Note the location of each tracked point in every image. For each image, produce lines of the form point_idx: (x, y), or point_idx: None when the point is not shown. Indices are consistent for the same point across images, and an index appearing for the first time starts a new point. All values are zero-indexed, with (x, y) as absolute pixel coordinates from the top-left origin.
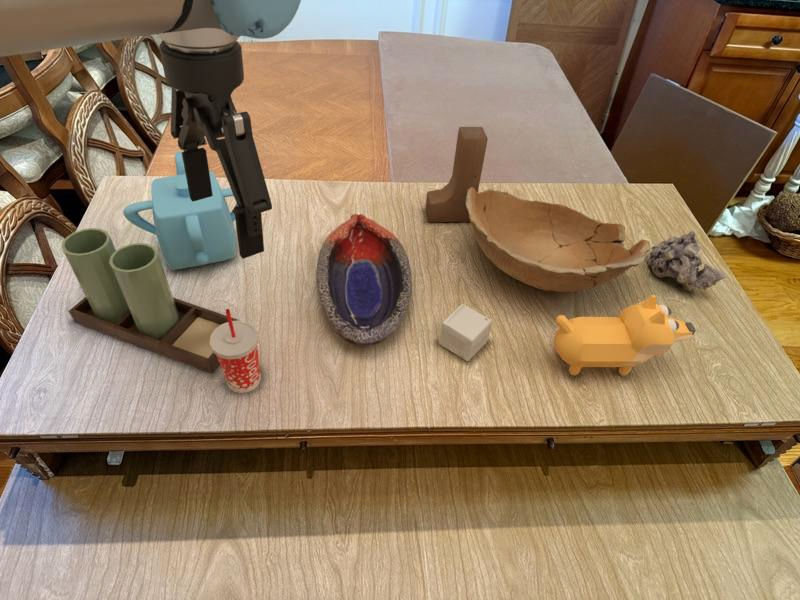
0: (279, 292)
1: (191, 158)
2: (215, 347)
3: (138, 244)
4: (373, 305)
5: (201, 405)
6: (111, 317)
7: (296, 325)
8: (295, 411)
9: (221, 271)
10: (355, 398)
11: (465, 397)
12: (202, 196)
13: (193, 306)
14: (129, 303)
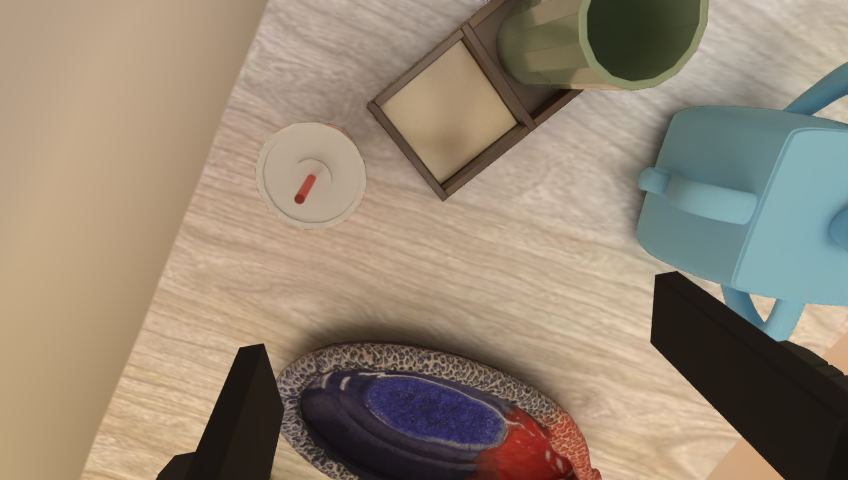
0: (506, 282)
1: (806, 423)
2: (299, 130)
3: (690, 46)
4: (388, 412)
5: (298, 61)
6: None
7: (410, 281)
8: (216, 212)
9: (621, 202)
10: (204, 310)
11: (141, 455)
12: (659, 315)
13: (534, 122)
14: None
